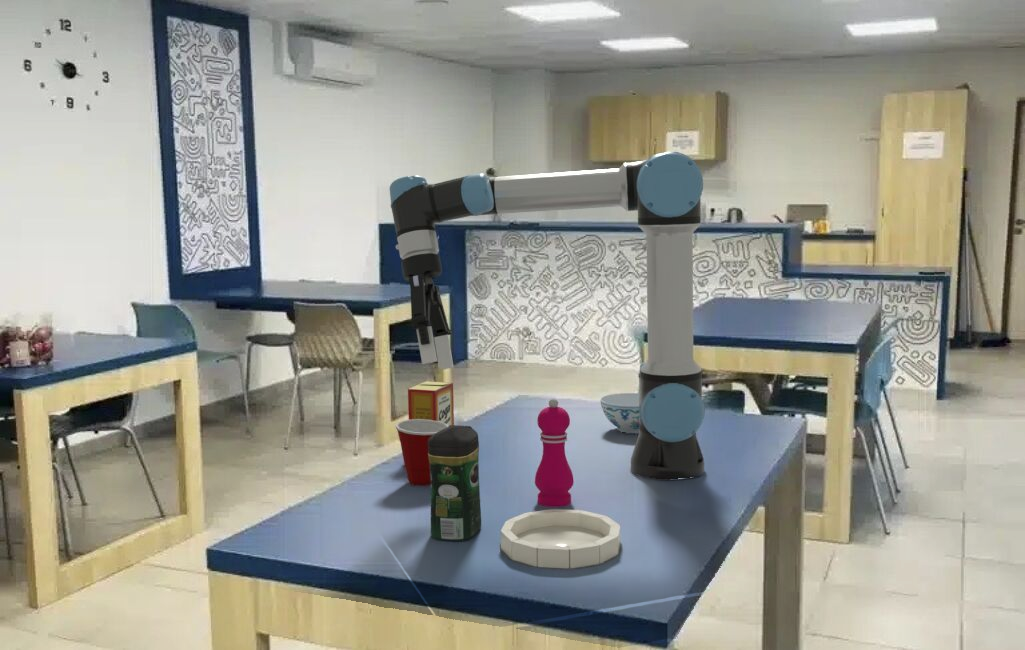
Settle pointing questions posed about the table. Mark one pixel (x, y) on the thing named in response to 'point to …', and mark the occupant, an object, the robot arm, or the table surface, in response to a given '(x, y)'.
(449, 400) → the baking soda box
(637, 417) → the chinaware
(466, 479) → the coffee jar
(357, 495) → the table surface
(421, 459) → the plastic cup
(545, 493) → the pepper mill
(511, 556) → the bowl
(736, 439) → the table surface
